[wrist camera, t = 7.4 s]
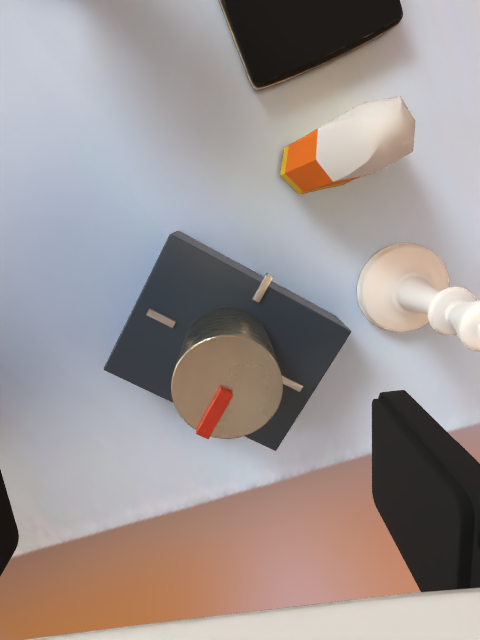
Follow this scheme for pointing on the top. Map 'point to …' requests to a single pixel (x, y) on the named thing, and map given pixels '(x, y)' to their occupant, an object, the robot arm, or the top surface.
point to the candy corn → (350, 146)
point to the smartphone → (302, 32)
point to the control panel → (217, 293)
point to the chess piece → (416, 294)
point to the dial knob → (226, 375)
